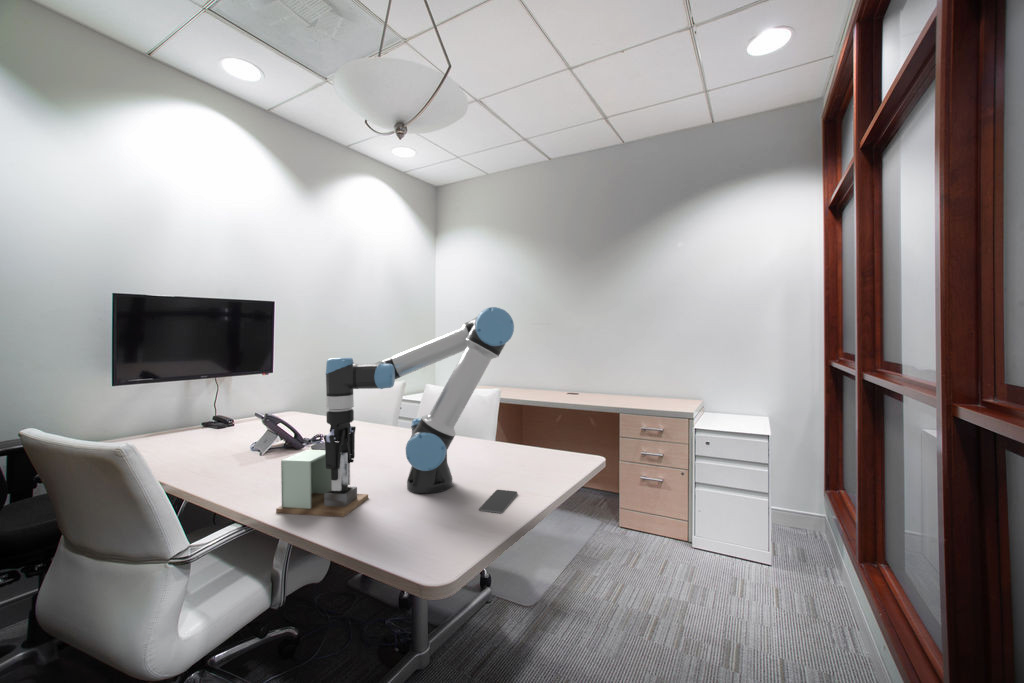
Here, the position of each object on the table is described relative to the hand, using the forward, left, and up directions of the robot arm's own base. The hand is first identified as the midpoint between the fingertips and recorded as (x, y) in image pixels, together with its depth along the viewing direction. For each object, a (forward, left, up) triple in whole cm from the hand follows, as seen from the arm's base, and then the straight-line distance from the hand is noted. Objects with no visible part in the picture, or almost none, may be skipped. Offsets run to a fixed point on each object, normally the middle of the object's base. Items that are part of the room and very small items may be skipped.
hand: (341, 487), depth 125 cm
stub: (0, 0, -2) cm, 2 cm away
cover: (+11, 0, -4) cm, 11 cm away
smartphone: (-46, -9, -6) cm, 48 cm away
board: (+6, 0, -6) cm, 8 cm away
